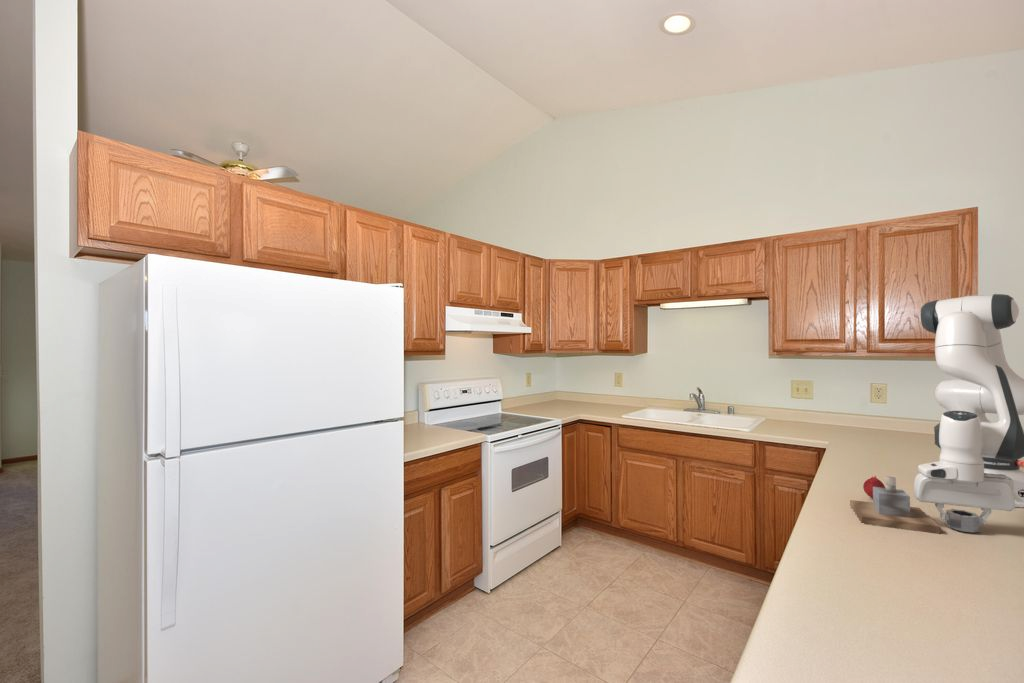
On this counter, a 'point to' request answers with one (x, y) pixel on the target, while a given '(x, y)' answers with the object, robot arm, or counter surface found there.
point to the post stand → (893, 510)
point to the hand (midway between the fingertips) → (962, 521)
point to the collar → (963, 520)
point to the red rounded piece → (872, 485)
